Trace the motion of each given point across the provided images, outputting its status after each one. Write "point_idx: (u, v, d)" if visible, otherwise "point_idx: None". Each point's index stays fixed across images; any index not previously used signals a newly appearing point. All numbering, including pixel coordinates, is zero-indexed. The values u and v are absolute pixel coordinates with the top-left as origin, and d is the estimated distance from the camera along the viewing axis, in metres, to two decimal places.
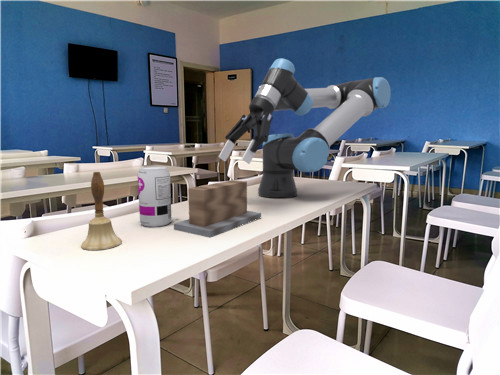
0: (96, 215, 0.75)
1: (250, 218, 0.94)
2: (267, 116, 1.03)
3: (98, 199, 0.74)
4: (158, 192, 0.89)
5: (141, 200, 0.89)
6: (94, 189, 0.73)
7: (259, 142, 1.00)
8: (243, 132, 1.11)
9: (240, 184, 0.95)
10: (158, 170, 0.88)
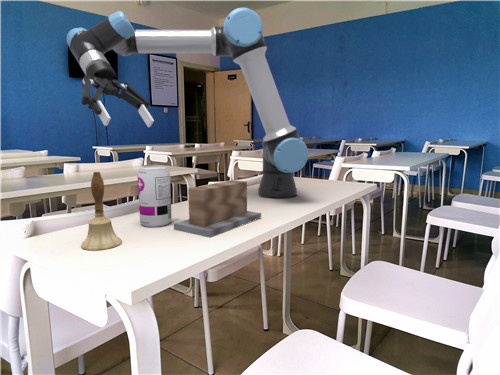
0: (96, 215, 0.75)
1: (250, 218, 0.94)
2: (83, 84, 0.95)
3: (98, 199, 0.74)
4: (158, 192, 0.89)
5: (141, 200, 0.89)
6: (94, 189, 0.73)
7: (91, 103, 0.91)
8: (127, 95, 1.02)
9: (240, 184, 0.95)
10: (158, 170, 0.88)
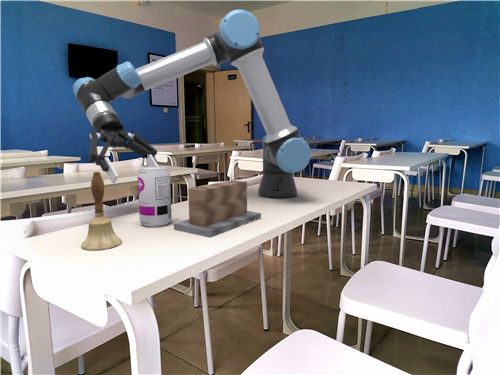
0: (96, 215, 0.75)
1: (250, 218, 0.94)
2: (90, 138, 0.94)
3: (98, 199, 0.74)
4: (158, 192, 0.89)
5: (141, 200, 0.89)
6: (94, 189, 0.73)
7: (98, 160, 0.90)
8: (134, 146, 1.01)
9: (240, 184, 0.95)
10: (158, 170, 0.88)
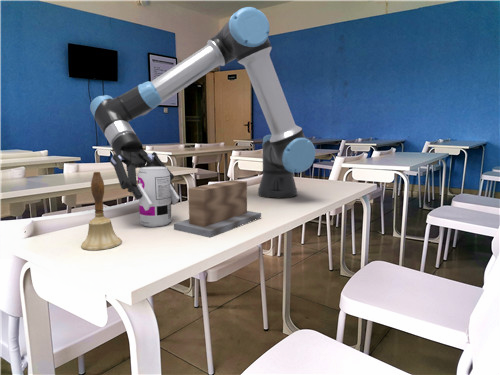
0: (96, 215, 0.75)
1: (250, 218, 0.94)
2: (112, 163, 0.91)
3: (98, 199, 0.74)
4: (158, 192, 0.89)
5: None
6: (94, 189, 0.73)
7: (131, 187, 0.88)
8: None
9: (240, 184, 0.95)
10: (158, 170, 0.88)
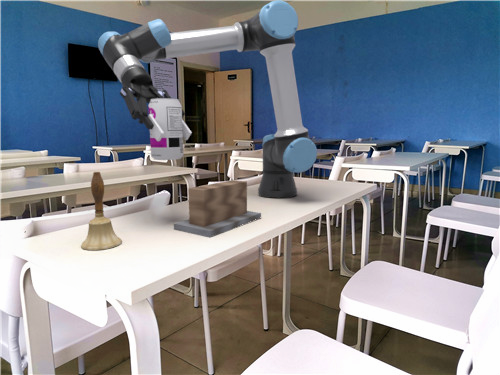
0: (96, 215, 0.75)
1: (250, 218, 0.94)
2: (122, 95, 0.88)
3: (98, 199, 0.74)
4: (170, 122, 0.85)
5: None
6: (94, 189, 0.73)
7: (142, 117, 0.85)
8: None
9: (240, 184, 0.95)
10: (170, 100, 0.85)
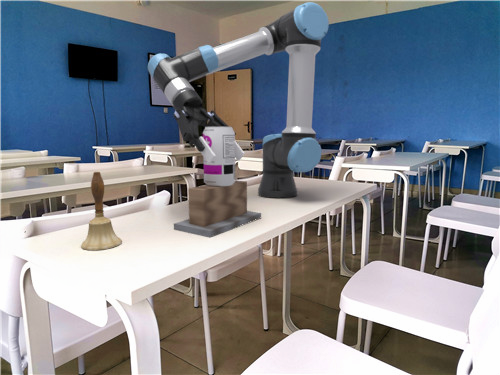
0: (96, 215, 0.75)
1: (250, 218, 0.94)
2: (175, 117, 0.89)
3: (98, 199, 0.74)
4: (225, 150, 0.87)
5: None
6: (94, 189, 0.73)
7: (193, 140, 0.85)
8: (214, 125, 0.95)
9: (240, 184, 0.95)
10: (225, 128, 0.87)
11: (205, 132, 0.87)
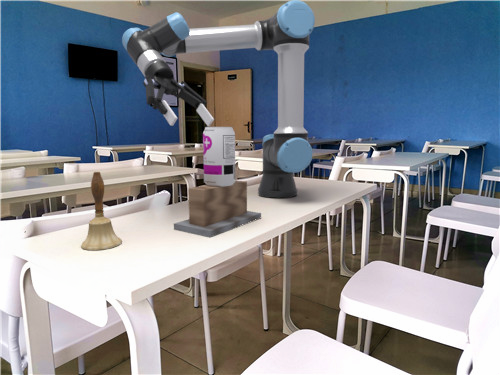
0: (96, 215, 0.75)
1: (250, 218, 0.94)
2: (145, 84, 0.94)
3: (98, 199, 0.74)
4: (225, 150, 0.87)
5: (207, 159, 0.88)
6: (94, 189, 0.73)
7: (156, 103, 0.90)
8: (186, 94, 1.00)
9: (240, 184, 0.95)
10: (225, 128, 0.87)
11: (205, 132, 0.87)
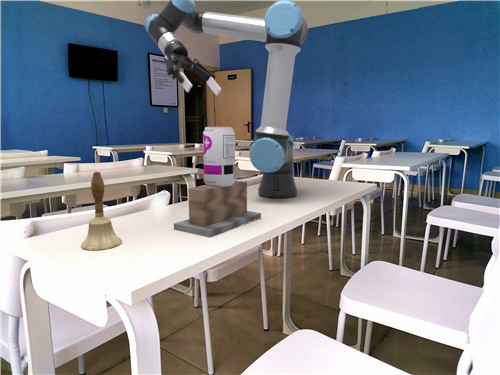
0: (96, 215, 0.75)
1: (250, 218, 0.94)
2: (165, 59, 1.15)
3: (98, 199, 0.74)
4: (225, 150, 0.87)
5: (207, 159, 0.88)
6: (94, 189, 0.73)
7: (175, 74, 1.11)
8: (198, 69, 1.21)
9: (240, 184, 0.95)
10: (225, 128, 0.87)
11: (205, 132, 0.87)
